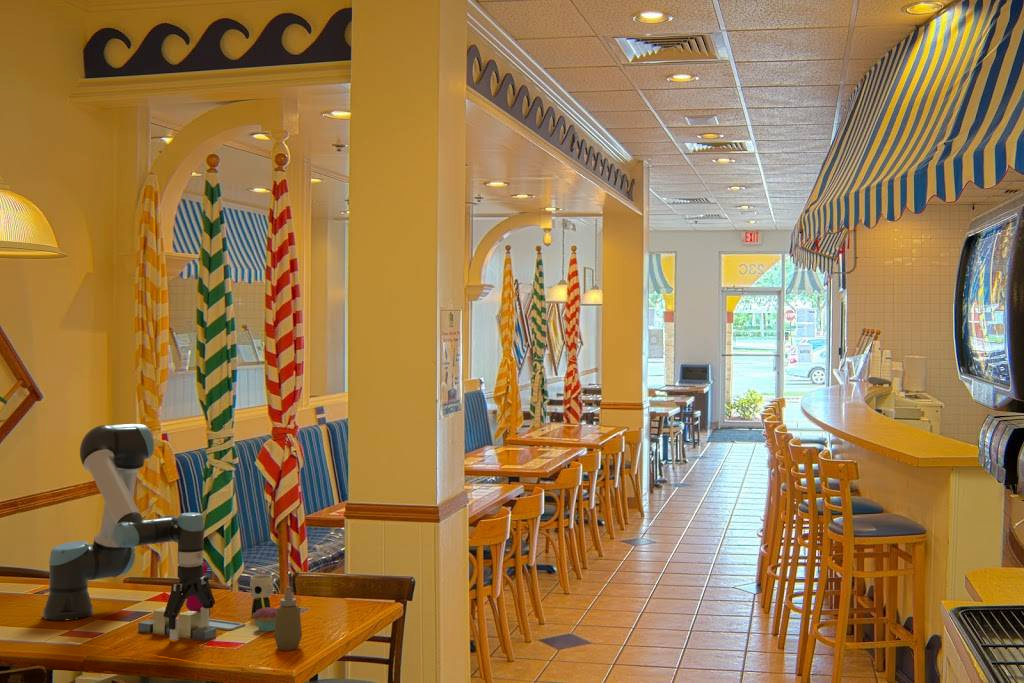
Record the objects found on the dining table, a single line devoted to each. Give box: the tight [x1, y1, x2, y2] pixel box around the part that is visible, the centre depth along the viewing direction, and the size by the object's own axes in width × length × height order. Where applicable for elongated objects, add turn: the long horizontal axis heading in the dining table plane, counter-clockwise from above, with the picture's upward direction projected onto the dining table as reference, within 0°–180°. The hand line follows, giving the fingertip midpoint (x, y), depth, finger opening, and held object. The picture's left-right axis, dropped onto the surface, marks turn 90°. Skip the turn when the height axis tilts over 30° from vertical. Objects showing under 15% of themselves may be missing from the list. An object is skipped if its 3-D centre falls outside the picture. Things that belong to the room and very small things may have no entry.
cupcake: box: [252, 593, 277, 632], centre depth 332 cm, size 9×8×12 cm
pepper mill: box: [185, 560, 208, 612], centre depth 348 cm, size 7×7×20 cm
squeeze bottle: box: [273, 585, 303, 651], centre depth 312 cm, size 8×8×18 cm
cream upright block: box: [152, 606, 174, 636], centre depth 327 cm, size 4×4×7 cm
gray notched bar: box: [137, 618, 217, 642], centre depth 325 cm, size 26×5×3 cm, turn 66°
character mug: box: [249, 574, 274, 617], centre depth 350 cm, size 11×7×13 cm, turn 53°
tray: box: [209, 618, 246, 632], centre depth 337 cm, size 18×7×1 cm, turn 66°
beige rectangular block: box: [178, 610, 201, 640], centre depth 323 cm, size 4×4×7 cm
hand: (189, 634), depth 323 cm, fingers open, 13 cm apart
